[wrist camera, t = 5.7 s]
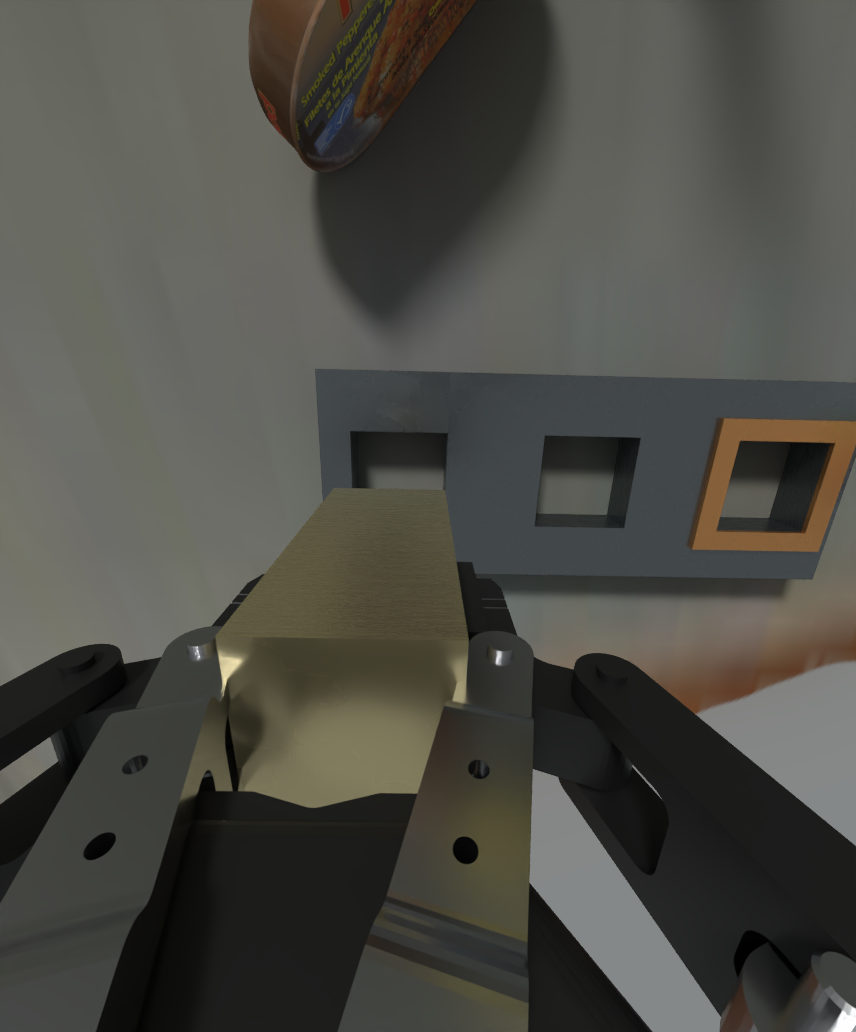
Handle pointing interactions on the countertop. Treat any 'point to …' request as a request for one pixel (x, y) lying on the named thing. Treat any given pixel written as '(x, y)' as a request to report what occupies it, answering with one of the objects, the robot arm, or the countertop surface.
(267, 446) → the countertop surface
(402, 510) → the peg
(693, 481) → the grey flat rectangular block
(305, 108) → the tin
